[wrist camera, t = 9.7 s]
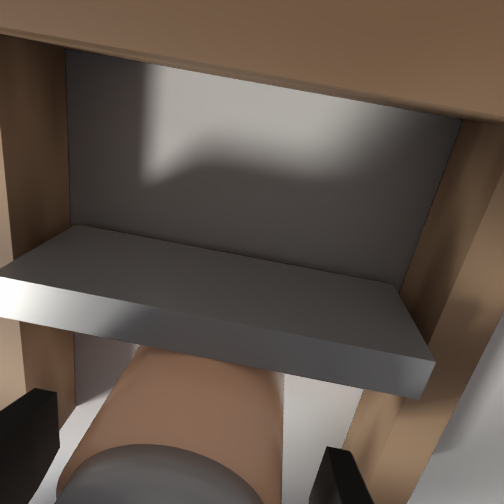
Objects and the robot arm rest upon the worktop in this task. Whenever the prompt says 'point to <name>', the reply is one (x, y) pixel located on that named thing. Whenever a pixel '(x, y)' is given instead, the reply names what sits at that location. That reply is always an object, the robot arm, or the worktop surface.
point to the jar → (182, 436)
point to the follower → (220, 308)
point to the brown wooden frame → (305, 79)
